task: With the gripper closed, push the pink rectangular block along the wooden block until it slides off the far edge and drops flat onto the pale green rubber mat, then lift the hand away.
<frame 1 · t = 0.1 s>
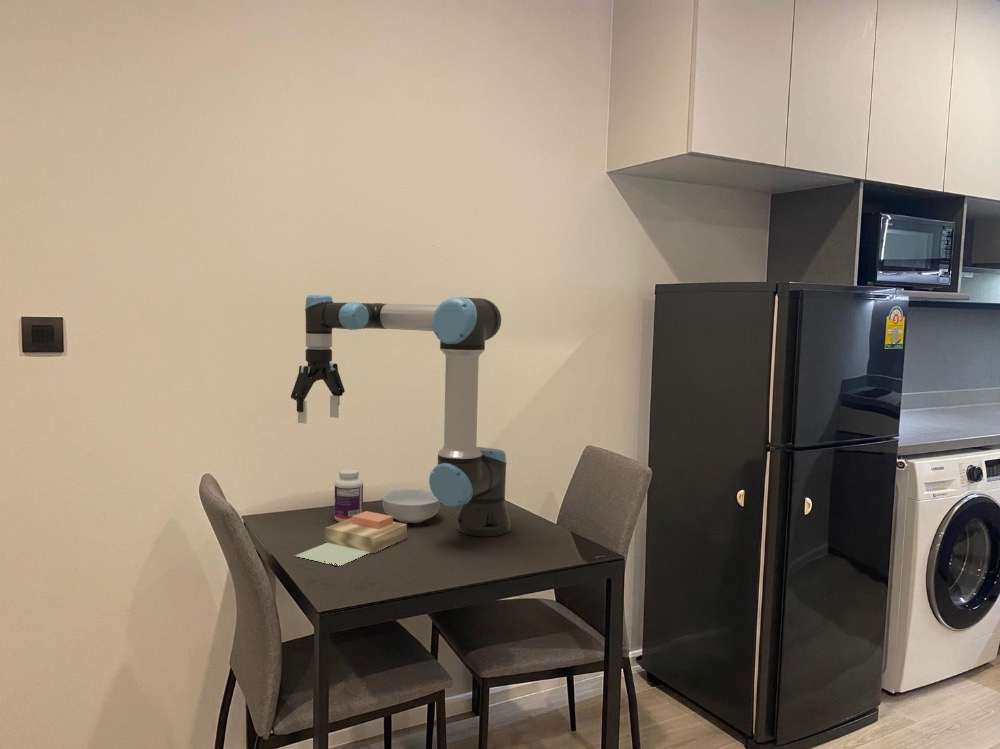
hand: (318, 420, 213), 28 cm above the table, tool pointing down, fingers open, 13 cm apart
mat: (333, 554, 180), on the table
pink rectangular block: (372, 523, 194), point 4 cm above the table, touching wooden block
wooden block: (366, 540, 192), on the table
cereal bowl: (411, 520, 211), on the table
pill bottle: (348, 520, 210), on the table
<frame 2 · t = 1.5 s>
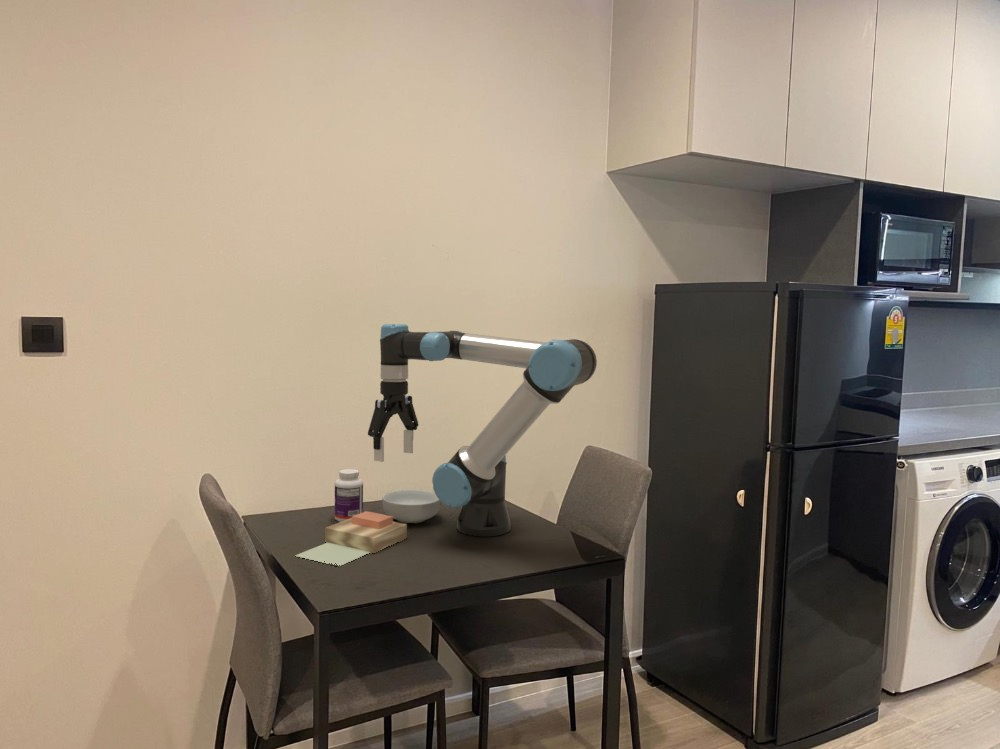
hand: (394, 456, 200), 20 cm above the table, tool pointing down, fingers open, 13 cm apart
nothing on the table moved.
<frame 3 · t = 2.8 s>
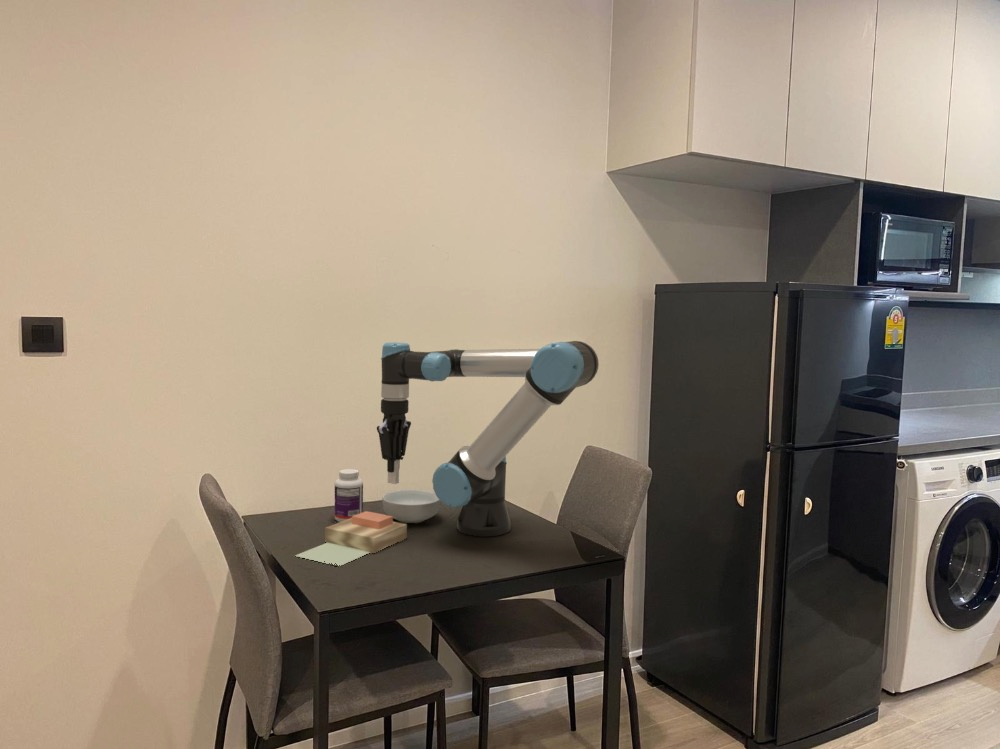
hand: (393, 482, 201), 13 cm above the table, tool pointing down, fingers closed
nothing on the table moved.
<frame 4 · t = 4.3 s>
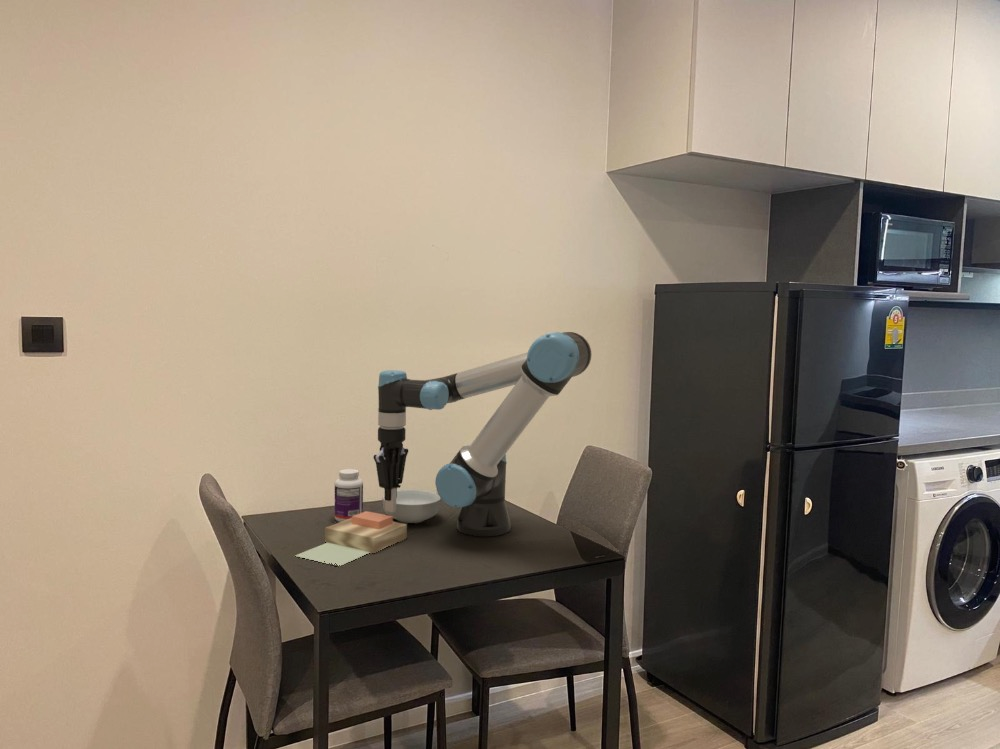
hand: (390, 510, 201), 5 cm above the table, tool pointing down, fingers closed
nothing on the table moved.
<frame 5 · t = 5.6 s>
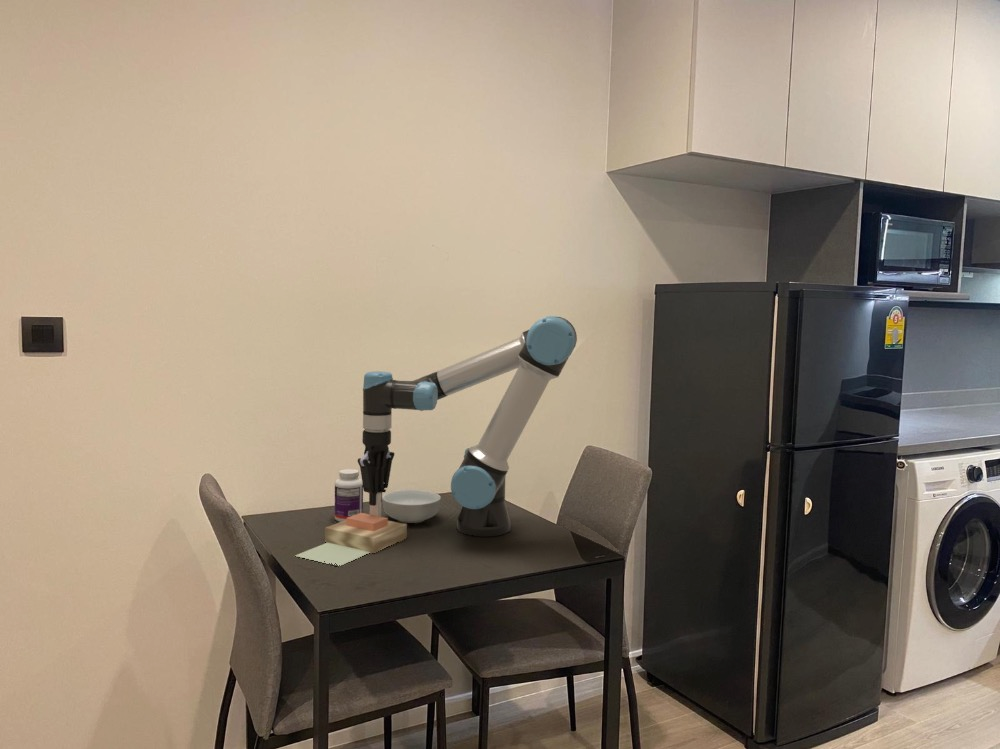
hand: (375, 516, 195), 6 cm above the table, tool pointing down, fingers closed
pink rectangular block: (367, 525, 192), point 4 cm above the table, touching wooden block, gripper
everything else where it was.
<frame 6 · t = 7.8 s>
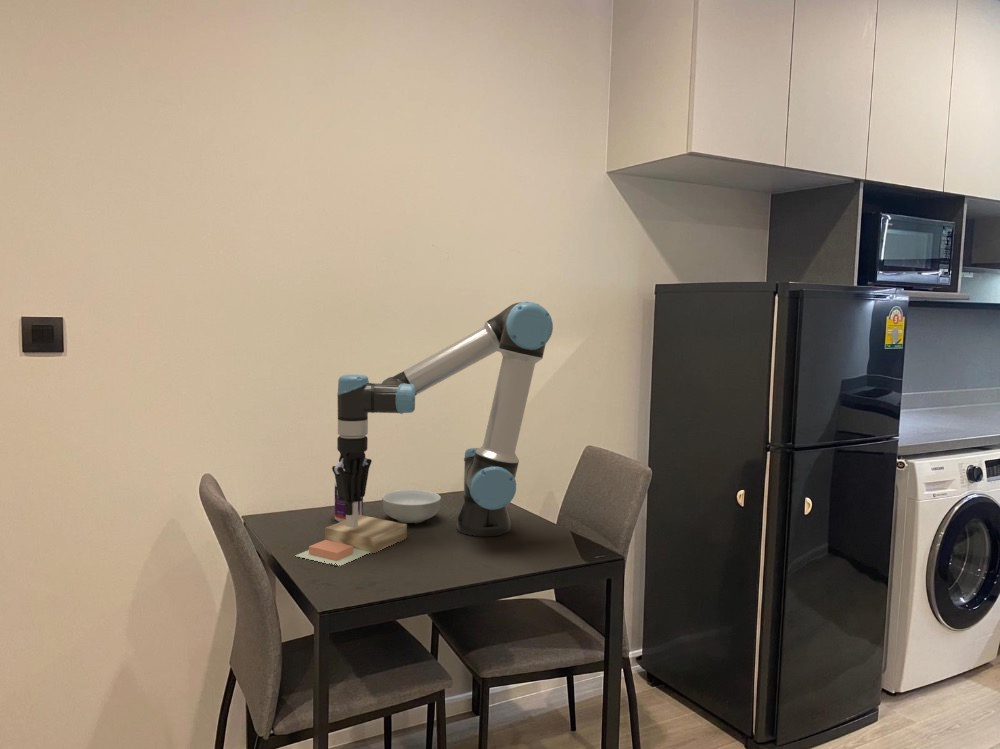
hand: (351, 526, 186), 5 cm above the table, tool pointing down, fingers closed
pink rectangular block: (331, 546, 180), point 2 cm above the table, tilted 180°, touching mat
everything else where it was.
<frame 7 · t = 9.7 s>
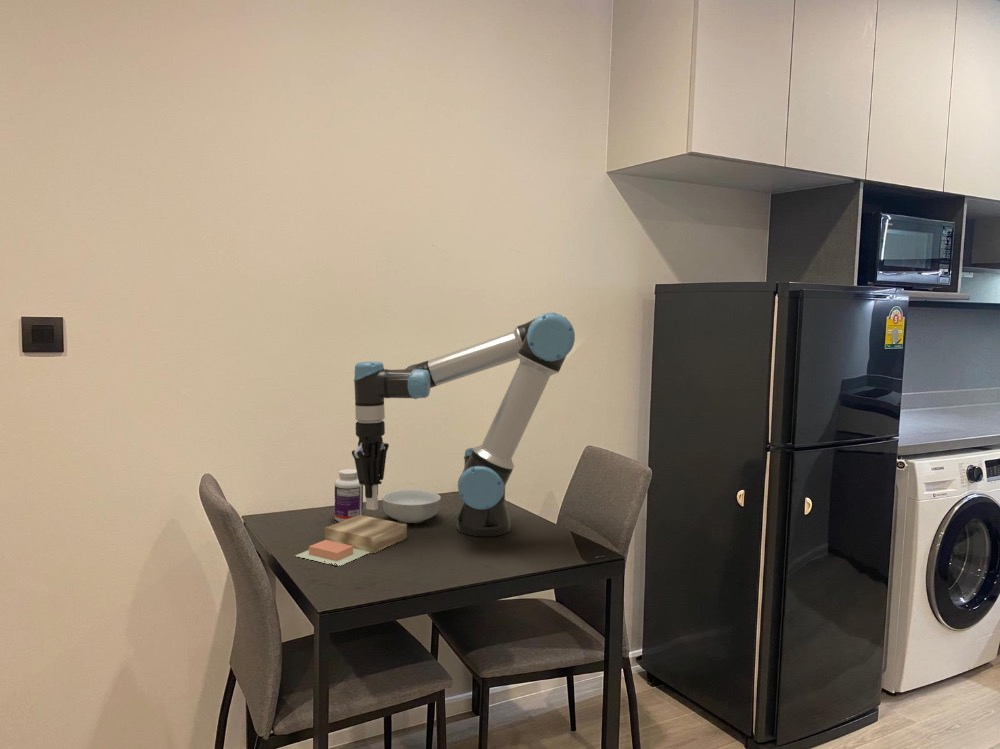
hand: (372, 508, 192), 8 cm above the table, tool pointing down, fingers closed
nothing on the table moved.
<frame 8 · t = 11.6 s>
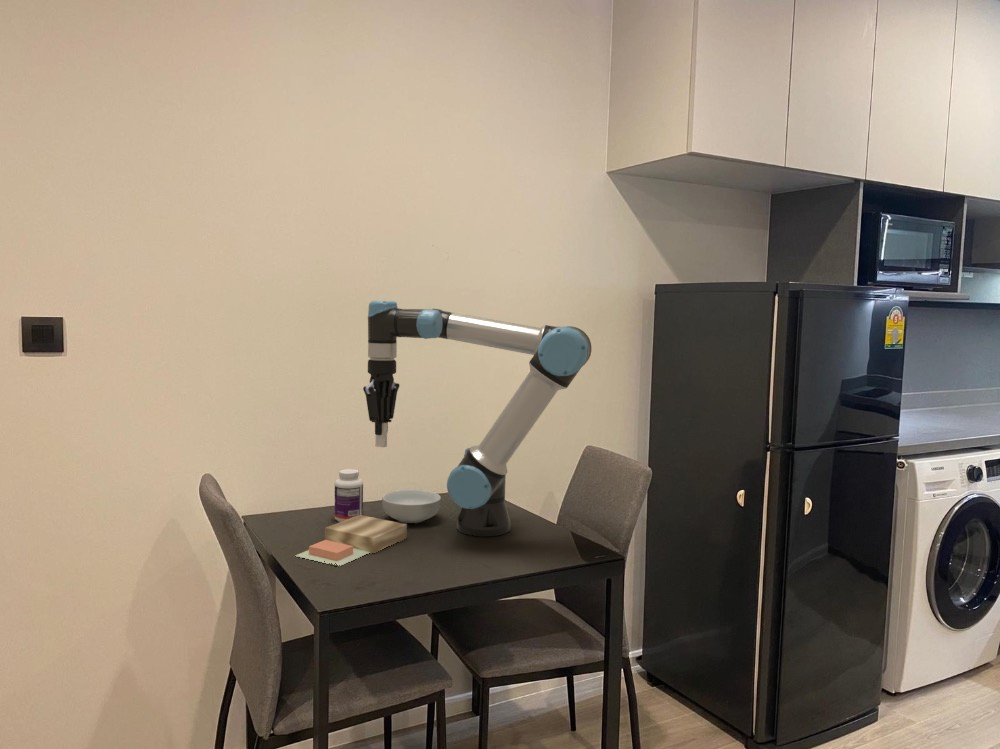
hand: (381, 446, 195), 24 cm above the table, tool pointing down, fingers closed
nothing on the table moved.
at the end: pink rectangular block point 2.3 cm above the table; pink rectangular block inside the target area on the mat (0.5 cm from its centre), point 2.3 cm above the mat's base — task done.
